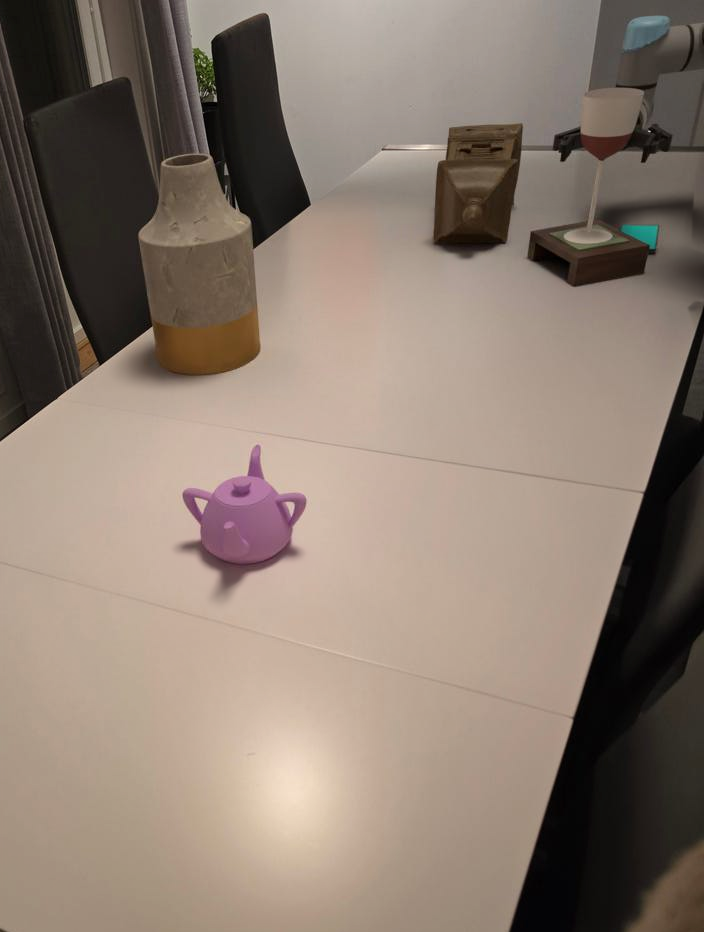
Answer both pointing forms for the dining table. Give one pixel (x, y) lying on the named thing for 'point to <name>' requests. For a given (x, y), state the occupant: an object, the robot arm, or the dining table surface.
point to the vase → (199, 272)
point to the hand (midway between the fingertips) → (603, 153)
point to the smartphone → (643, 234)
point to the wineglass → (605, 140)
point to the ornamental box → (477, 183)
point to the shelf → (591, 253)
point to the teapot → (245, 516)
